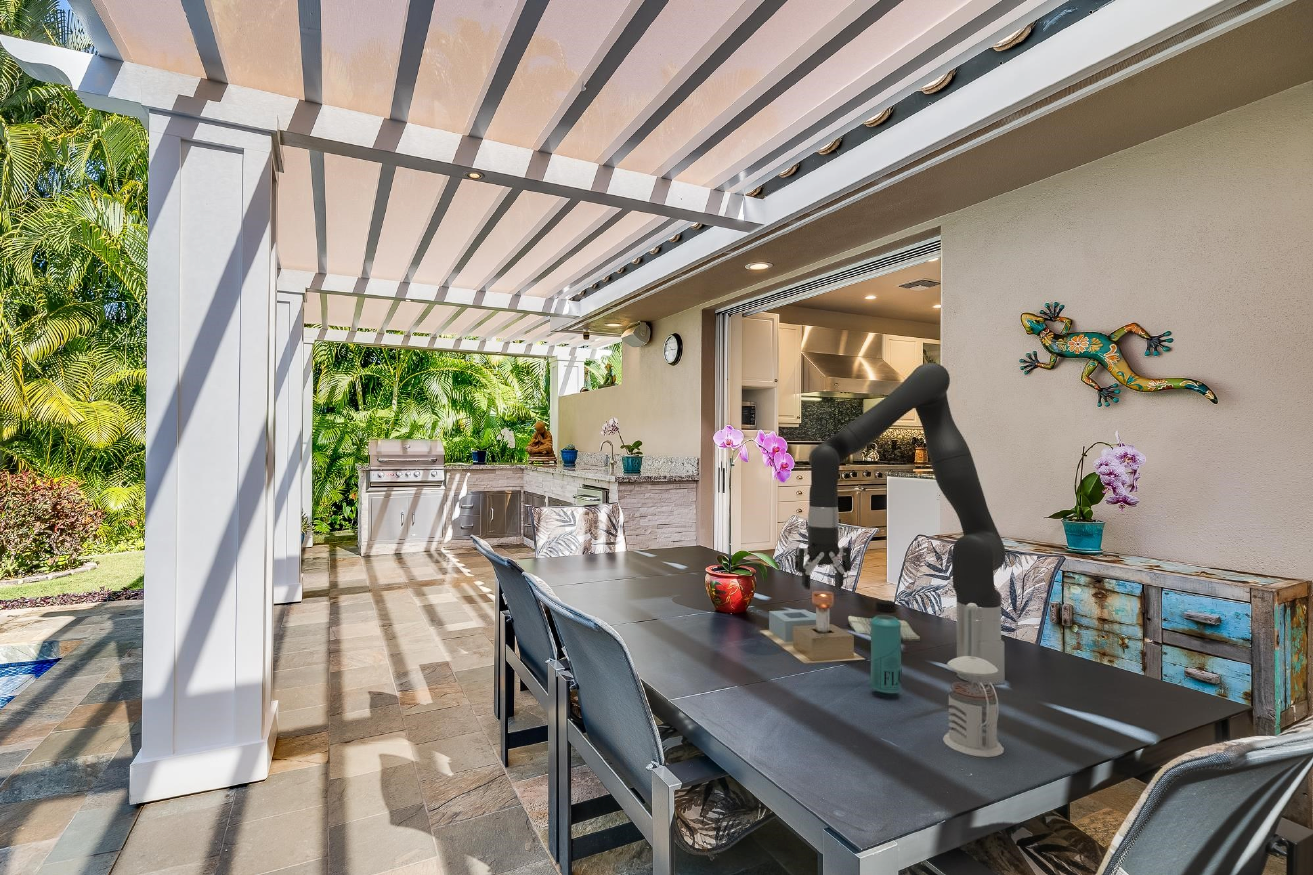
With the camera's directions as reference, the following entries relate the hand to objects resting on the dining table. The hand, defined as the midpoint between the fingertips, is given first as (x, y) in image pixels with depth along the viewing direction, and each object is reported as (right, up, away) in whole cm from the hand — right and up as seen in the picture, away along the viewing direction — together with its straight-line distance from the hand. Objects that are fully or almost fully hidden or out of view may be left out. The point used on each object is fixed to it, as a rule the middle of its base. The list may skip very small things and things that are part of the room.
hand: (822, 588), depth 163 cm
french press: (+15, -17, -49) cm, 53 cm away
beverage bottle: (+7, -17, -25) cm, 31 cm away
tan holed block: (0, -16, -1) cm, 16 cm away
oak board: (-2, -18, +7) cm, 19 cm away
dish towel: (+24, -19, +25) cm, 39 cm away
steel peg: (0, -16, -1) cm, 16 cm away
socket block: (-4, -16, +15) cm, 22 cm away
